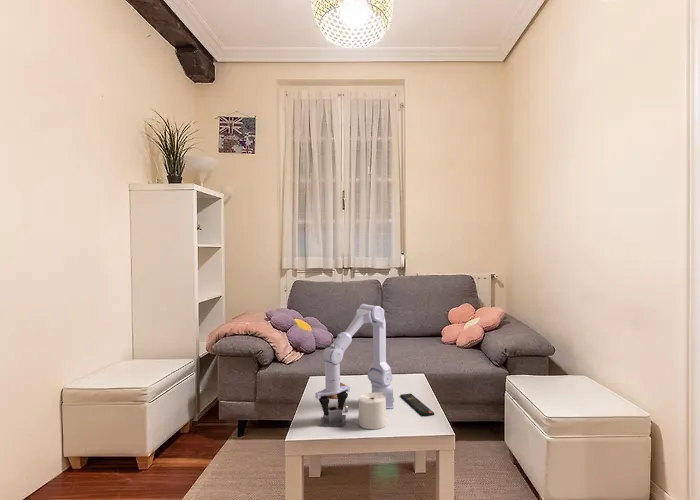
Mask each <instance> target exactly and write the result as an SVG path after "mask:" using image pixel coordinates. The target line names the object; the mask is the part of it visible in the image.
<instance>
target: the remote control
mask: <svg viewBox="0 0 700 500" xmlns="http://www.w3.org/2000/svg"><path fill="white" fill-rule="evenodd" d="M399 396H400V397H401V398H402V399H403V400H404V401H405V402H406V403H407V404H408V405H409V406H410V407H412V408H413V409H414V410H415V411H416V412H417V413H418V414H419V415H420V416H421V417H423V418H424V417H426V418H427V417H432V416H434V415H435V412H434V411H433V410H431V409H430V408H429V407H428V406H427V405H426V404H424V403H423V402H422V401H421V400H420V399H419V398H417V397H416V396H415V395H413V394H412V393H403V394H400V395H399Z"/></svg>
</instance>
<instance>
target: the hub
mask: <svg viewBox="0 0 700 500" xmlns="http://www.w3.org/2000/svg"><path fill="white" fill-rule="evenodd" d="M346 420H347V414H342V420H340V421H335V422H331V423H329V422H328V421H327V420H326V419H325V418H324V414H323V415H322V418H321V420H320V422H319V423H320V424H319V426H320V427H327V428H329V427H331V428H334V427H335V428H344V426H345V423H346Z"/></svg>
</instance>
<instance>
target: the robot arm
mask: <svg viewBox="0 0 700 500" xmlns="http://www.w3.org/2000/svg"><path fill="white" fill-rule="evenodd" d="M355 312H356V314H355V315H354V317H353V319H352V320H351V322H350V323H349V325H348V327H347V328H346V330H345V331H343V332H341V331H340V333H338V334H337V335H336V336H337V337H336V338H335V339H334V340H333V342H332V343H331V344H330V346H327V347H326V348H325V349H324V350H323V351H322V354H321V359H322V360H323V362H324V364H323V365H324V370H325V371H324V372H325V373H324V374H325V376H324V379H325V384H324V385H325V388H324V389H321V390H319V391H317V392H315V393H314V394H315V399H317V400H318V401H319V403H320V405H321V409H322V411H323V415H326V416H328V407H329V404H330V399H327V397H326V396H330V395H334V394H337V399H336V400H337V406H338V407H339V408H341V409H342V412H344V411H343V410H344V406H345V403H346V400H347V398H348V397H349V392H351V391H350V390H351V387H350V386H349V385H347V386H340V382H341V369H340V368H341V365H340V364H341V362H342V361H343V358H344V355H345V351H346V350H348V349H347V348H348V347H350V345H351V343H352V342H353V340H352V339H353V338H352V337H353V336H354V335H355V334H356V333H357V332H358V330H359V329H360V328H361V327H362V326H363V325H364V324H369V323H370V324H371V326H372V362H371V363H370V364H369V365H368V367H369V368H368V371H367V372H368V373H367V378H368V380H369V381H370V384H371V393H373V392H384V396H385V397H386V409H394V403H395V397H394V384H392V382H393V373H392V370H391V369H392V367H390V365H389V363H387V354H386V353H387V348H386V347H387V345H386V344H387V337H386V336H387V335H386V334H387V330H386V329H387V326H386V325H387V324H386V323H387V322H386V317H385V309H384V308H382V307H381V306H380V305H372V304H371V305H370V304H366V303H362V304H361V305H360V306H359V307H358V308H357V310H356V311H355Z"/></svg>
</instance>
